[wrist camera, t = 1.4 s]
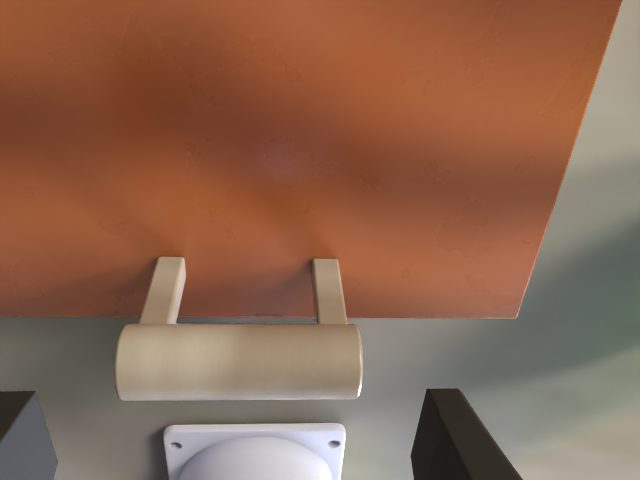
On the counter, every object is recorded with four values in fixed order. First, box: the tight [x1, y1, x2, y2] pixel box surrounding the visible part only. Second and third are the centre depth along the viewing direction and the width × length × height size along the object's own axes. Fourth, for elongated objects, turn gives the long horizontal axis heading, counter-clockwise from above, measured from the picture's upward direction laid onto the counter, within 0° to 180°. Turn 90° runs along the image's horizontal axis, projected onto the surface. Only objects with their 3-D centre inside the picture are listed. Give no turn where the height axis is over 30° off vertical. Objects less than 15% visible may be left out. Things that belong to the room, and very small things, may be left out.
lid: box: [0, 0, 622, 401], centre depth 12 cm, size 10×16×5 cm
